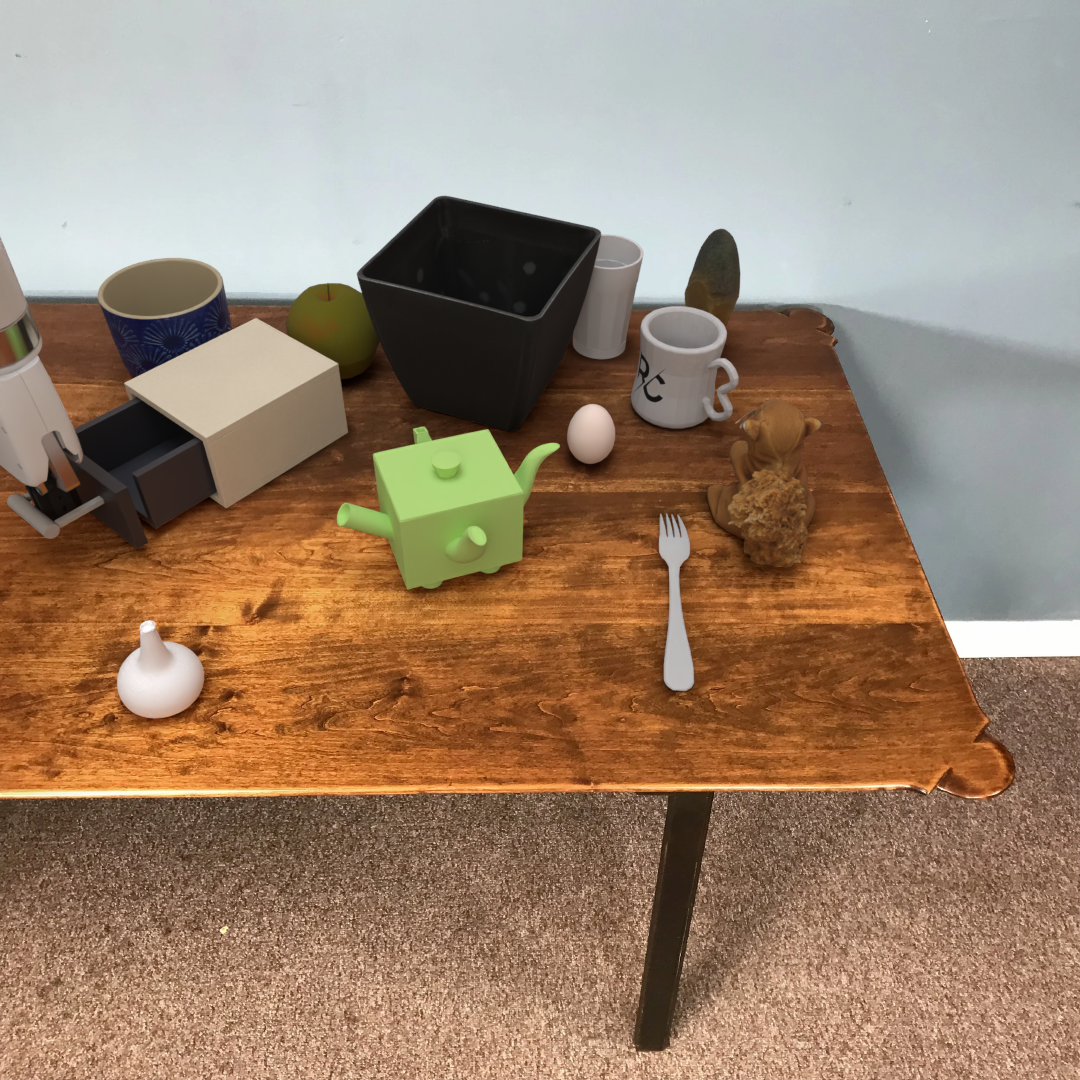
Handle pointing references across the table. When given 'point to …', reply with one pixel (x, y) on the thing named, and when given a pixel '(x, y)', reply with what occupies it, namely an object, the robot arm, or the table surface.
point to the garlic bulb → (159, 676)
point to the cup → (609, 299)
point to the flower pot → (478, 306)
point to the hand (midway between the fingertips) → (63, 514)
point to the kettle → (448, 506)
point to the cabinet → (249, 404)
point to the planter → (163, 310)
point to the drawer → (131, 473)
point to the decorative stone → (715, 276)
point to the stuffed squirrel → (768, 486)
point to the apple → (334, 326)
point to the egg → (591, 434)
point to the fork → (676, 608)
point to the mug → (681, 368)
